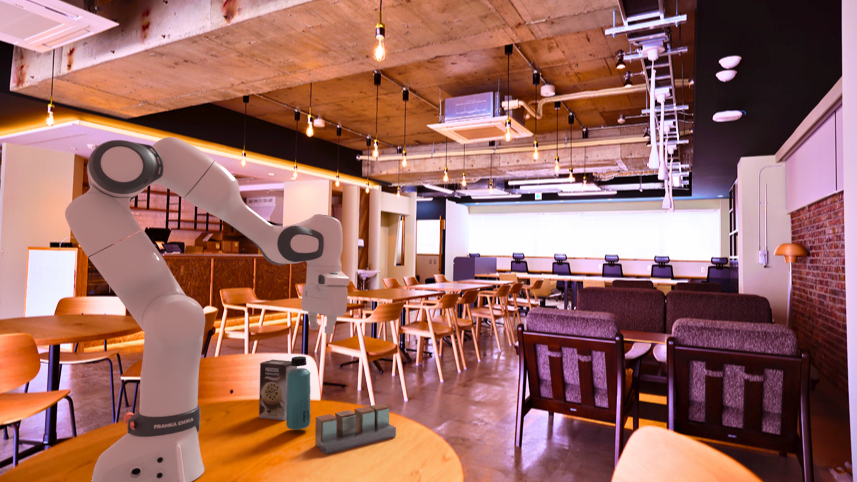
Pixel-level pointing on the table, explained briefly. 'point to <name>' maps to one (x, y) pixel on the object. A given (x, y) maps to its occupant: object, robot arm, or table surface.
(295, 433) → the table surface
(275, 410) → the coffee box
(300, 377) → the beverage bottle
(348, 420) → the brown-topped upright block
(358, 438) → the grey block holder
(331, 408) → the table surface
